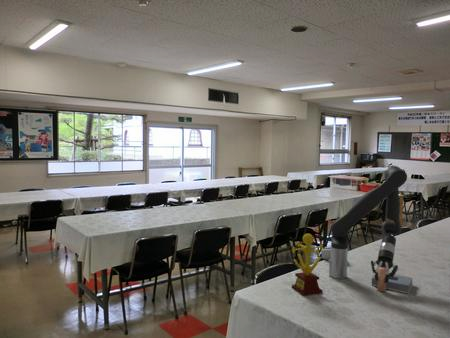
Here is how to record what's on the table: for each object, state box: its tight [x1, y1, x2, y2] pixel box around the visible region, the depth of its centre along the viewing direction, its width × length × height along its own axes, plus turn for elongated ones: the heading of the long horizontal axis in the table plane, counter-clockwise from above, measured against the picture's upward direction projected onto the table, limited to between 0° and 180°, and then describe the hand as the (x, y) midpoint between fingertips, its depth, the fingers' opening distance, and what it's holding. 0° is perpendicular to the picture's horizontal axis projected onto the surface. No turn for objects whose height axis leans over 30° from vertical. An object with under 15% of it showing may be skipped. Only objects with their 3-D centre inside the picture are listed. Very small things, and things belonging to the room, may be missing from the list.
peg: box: [377, 267, 387, 293], centre depth 184 cm, size 4×4×12 cm
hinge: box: [321, 246, 348, 263], centre depth 235 cm, size 17×5×10 cm, turn 46°
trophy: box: [291, 233, 324, 297], centre depth 183 cm, size 14×16×30 cm
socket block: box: [371, 272, 413, 294], centre depth 193 cm, size 18×14×4 cm
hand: (381, 281), depth 183 cm, fingers closed on peg, 4 cm apart
